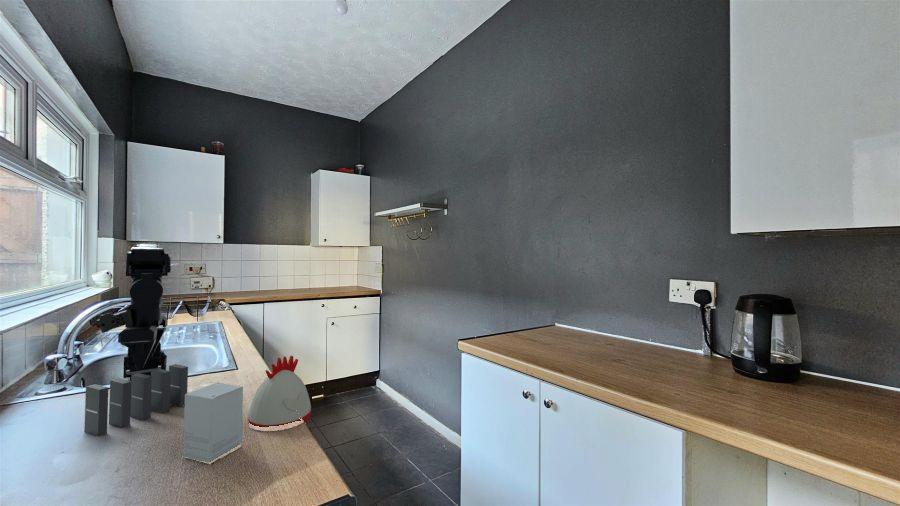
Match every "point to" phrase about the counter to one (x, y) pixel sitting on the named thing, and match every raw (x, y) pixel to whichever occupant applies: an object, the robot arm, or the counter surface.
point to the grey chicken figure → (280, 397)
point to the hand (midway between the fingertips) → (144, 363)
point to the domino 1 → (96, 409)
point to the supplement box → (212, 421)
